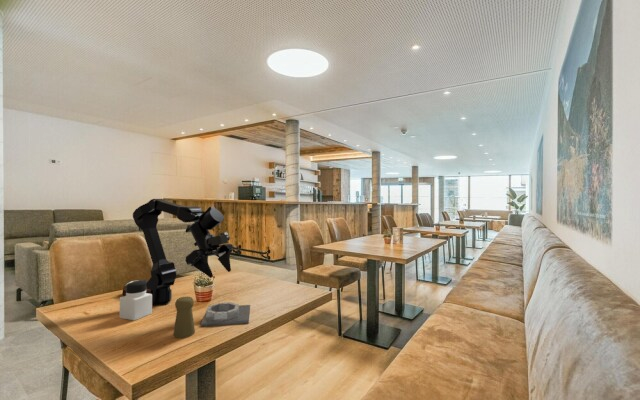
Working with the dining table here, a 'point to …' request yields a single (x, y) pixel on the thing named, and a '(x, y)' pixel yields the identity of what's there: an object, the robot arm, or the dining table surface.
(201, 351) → the dining table surface
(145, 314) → the medicine bottle
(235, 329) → the dining table surface
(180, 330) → the cork
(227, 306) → the socket block
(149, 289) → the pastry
